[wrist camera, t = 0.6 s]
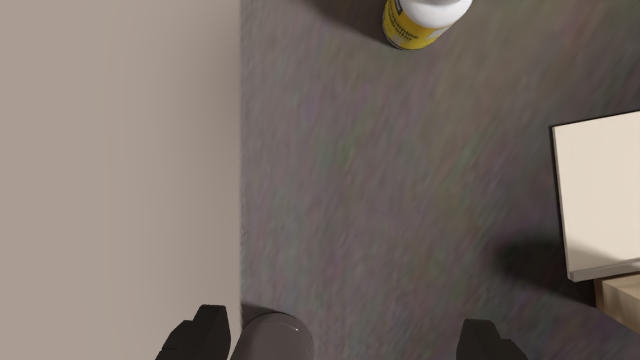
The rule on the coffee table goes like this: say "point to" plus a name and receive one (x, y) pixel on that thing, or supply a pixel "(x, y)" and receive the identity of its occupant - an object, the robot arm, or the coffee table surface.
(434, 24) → the pill bottle
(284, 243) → the coffee table surface
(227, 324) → the robot arm
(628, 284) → the birch block
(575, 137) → the mat
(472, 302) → the coffee table surface
